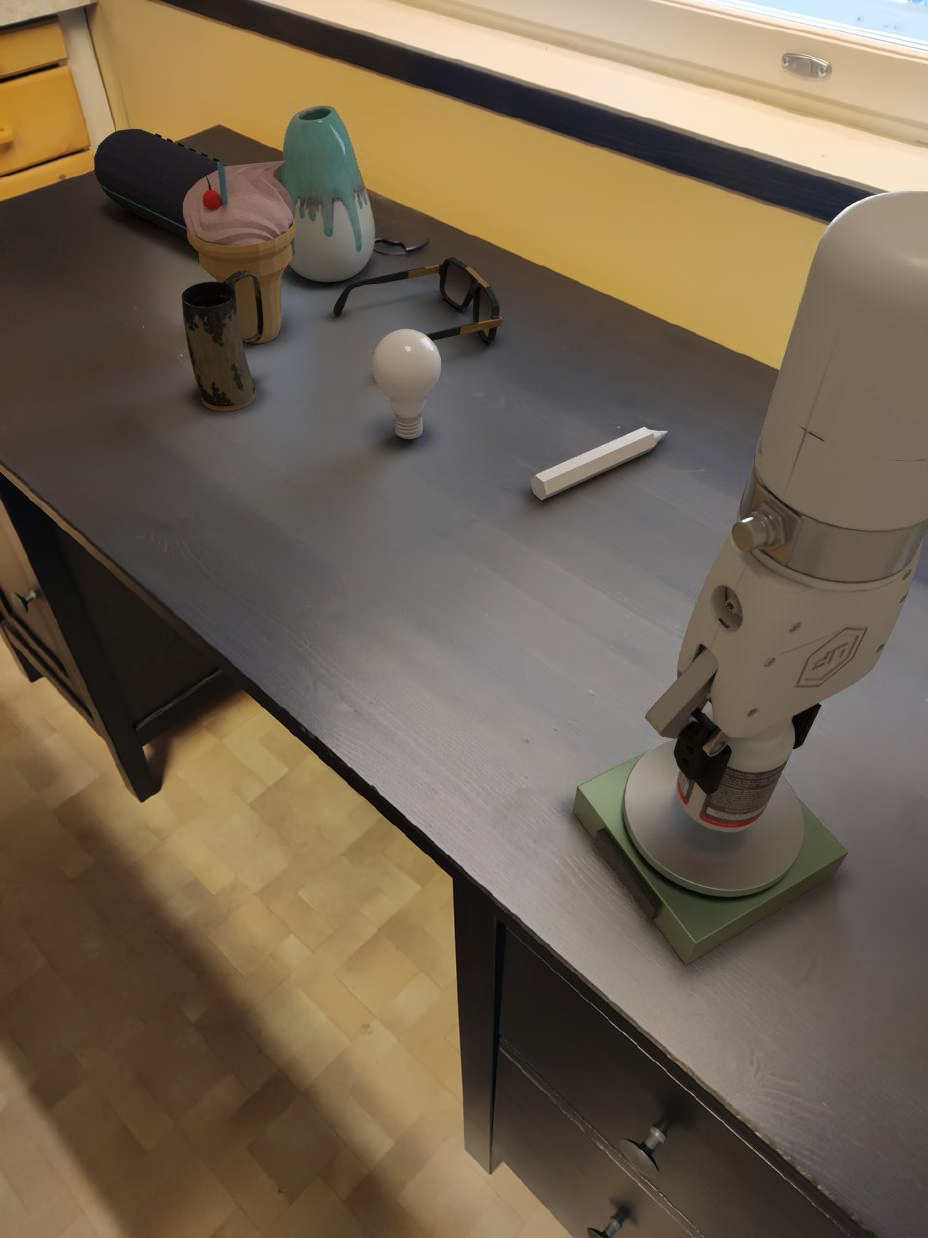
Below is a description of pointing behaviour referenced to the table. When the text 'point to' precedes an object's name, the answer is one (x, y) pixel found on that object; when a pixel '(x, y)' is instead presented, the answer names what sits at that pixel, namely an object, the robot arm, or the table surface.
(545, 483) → the white pencil
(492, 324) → the sunglasses
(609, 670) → the table surface
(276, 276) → the ice cream cone
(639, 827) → the pan
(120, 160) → the portable speaker
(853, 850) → the table surface
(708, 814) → the pill bottle
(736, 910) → the scale
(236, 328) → the mug
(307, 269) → the vase
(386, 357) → the lightbulb
